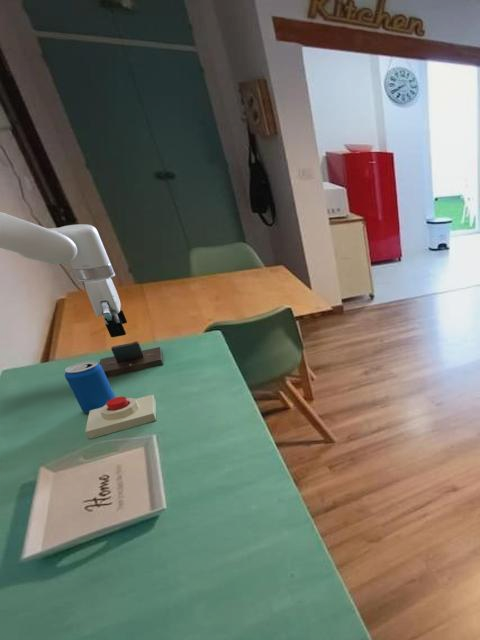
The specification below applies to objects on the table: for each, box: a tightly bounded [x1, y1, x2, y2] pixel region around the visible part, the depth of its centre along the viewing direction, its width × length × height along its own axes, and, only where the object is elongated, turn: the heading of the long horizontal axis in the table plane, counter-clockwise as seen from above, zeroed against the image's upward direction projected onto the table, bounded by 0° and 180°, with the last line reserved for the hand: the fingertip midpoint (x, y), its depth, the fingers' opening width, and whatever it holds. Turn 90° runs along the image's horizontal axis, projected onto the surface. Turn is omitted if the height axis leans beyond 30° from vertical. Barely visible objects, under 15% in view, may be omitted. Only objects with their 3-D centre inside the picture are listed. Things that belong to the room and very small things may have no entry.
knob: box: [110, 340, 144, 363], centre depth 122 cm, size 6×2×5 cm, turn 128°
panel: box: [98, 346, 164, 378], centre depth 124 cm, size 14×10×2 cm
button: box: [106, 396, 129, 411], centre depth 99 cm, size 4×4×2 cm
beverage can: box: [64, 360, 117, 414], centre depth 102 cm, size 6×6×12 cm
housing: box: [84, 394, 157, 440], centre depth 100 cm, size 12×10×4 cm
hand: (119, 329), depth 119 cm, fingers open, 9 cm apart
